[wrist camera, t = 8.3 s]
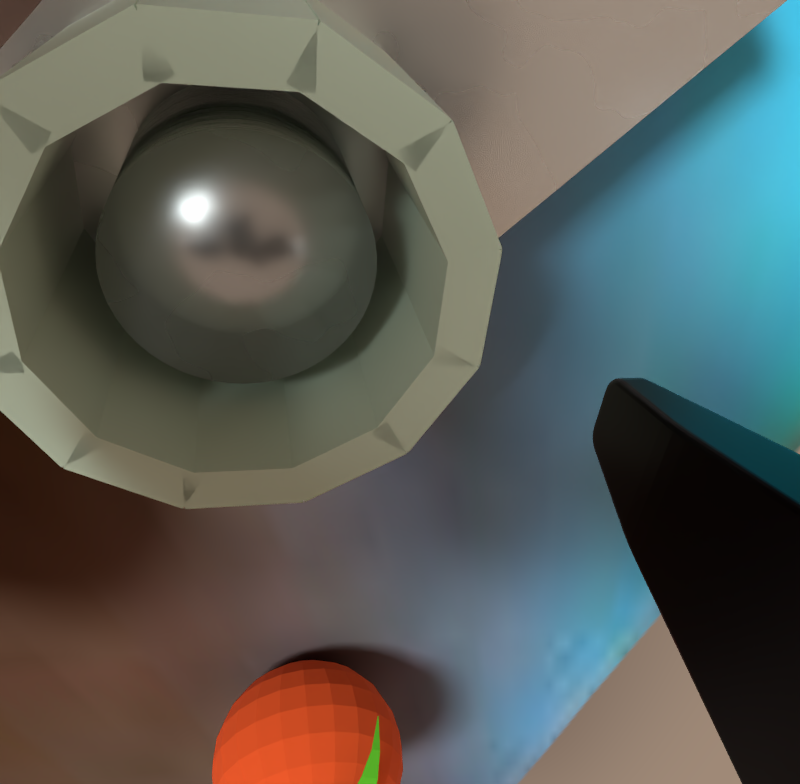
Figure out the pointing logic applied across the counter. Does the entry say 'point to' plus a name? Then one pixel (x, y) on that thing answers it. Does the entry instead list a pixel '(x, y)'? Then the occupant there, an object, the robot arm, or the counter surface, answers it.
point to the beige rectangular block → (351, 162)
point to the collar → (196, 397)
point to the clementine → (309, 730)
